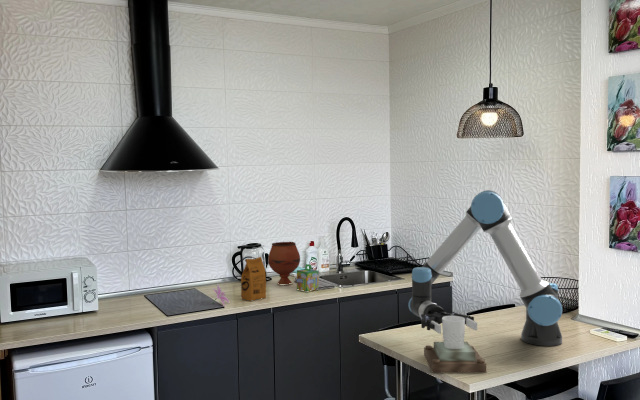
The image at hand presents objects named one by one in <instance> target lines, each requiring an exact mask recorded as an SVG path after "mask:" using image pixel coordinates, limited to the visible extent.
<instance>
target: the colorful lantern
mask: <svg viewBox="0 0 640 400" xmlns="http://www.w3.org/2000/svg"><path fill="white" fill-rule="evenodd" d="M316 288H318V289H319V270H317V269H312V264H307V263H305V266H304V269H296V290H297V289H299V290H304V291H310V290H315V289H316ZM299 290H298V291H299Z"/></svg>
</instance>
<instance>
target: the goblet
mask: <svg viewBox="0 0 640 400" xmlns="http://www.w3.org/2000/svg"><path fill="white" fill-rule="evenodd" d="M267 261H268V266H269V267H270V269H271V270H272V271H273V272H275V273H276V274H278V275H279V278H280V279H279V280H278V281H277V284H278V283H279V284H289V283H292V284H293V282H292V281H291V280H290V278H289V277H290V274H292V273H293V272H294V271H296V270H297V268H298V267H299V266H300V262H301V256H300V252H299V249H298V247H297V243H296V242H294V241H280V242H279V241H278V242H272V243H271V248H270V251H269V254H268V258H267Z"/></svg>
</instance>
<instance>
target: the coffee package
mask: <svg viewBox="0 0 640 400" xmlns="http://www.w3.org/2000/svg"><path fill="white" fill-rule="evenodd" d="M244 261H245V266H244V269H243V270H242V274H241V279H240V283H241V284H240V297H241V299H242V300H243V299H245V300H244V301H247V300H249V301H248V302H252V301H251V300H254V301H257V300H256V299H261V298H263V299H266V298H267V278H266V269H265V265H264V263H263V259H262V256H258V257H256V258H245V259H244ZM265 297H266V298H265ZM261 300H262V299H261Z"/></svg>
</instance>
